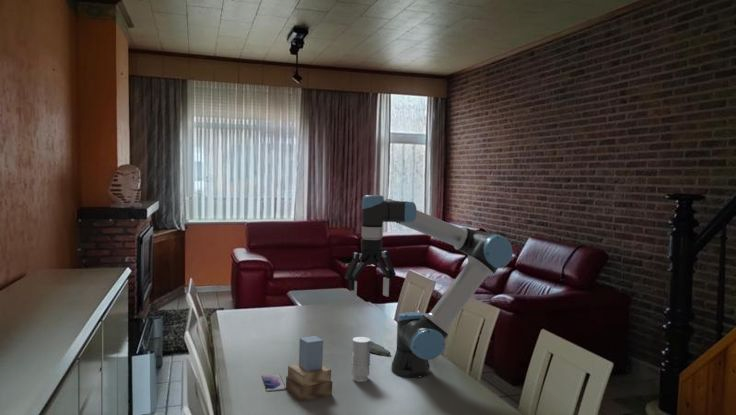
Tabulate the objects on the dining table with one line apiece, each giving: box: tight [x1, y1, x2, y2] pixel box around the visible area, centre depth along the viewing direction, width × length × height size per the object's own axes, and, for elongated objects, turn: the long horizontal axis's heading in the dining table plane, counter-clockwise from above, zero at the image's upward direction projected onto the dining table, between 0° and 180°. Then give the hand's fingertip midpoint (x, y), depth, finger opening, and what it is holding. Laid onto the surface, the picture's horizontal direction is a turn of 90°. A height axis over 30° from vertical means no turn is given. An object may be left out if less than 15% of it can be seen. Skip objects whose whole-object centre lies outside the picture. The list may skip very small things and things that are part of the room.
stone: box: [369, 341, 391, 356], centre depth 231 cm, size 17×3×10 cm
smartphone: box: [261, 373, 287, 393], centre depth 192 cm, size 7×1×15 cm
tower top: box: [287, 363, 332, 387], centre depth 185 cm, size 11×11×4 cm
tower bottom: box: [285, 375, 333, 403], centre depth 185 cm, size 12×12×5 cm
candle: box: [351, 336, 371, 383], centre depth 198 cm, size 7×7×15 cm
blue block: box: [298, 335, 324, 371], centre depth 185 cm, size 6×6×10 cm
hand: (369, 297), depth 189 cm, fingers open, 13 cm apart
